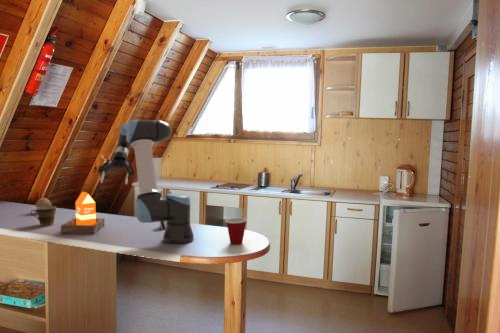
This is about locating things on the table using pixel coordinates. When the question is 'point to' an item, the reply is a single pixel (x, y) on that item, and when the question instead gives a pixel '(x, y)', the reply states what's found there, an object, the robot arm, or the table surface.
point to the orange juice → (85, 210)
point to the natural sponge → (43, 202)
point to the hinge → (163, 224)
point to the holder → (82, 227)
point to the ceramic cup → (45, 215)
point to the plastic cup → (236, 230)
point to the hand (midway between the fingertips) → (113, 182)
